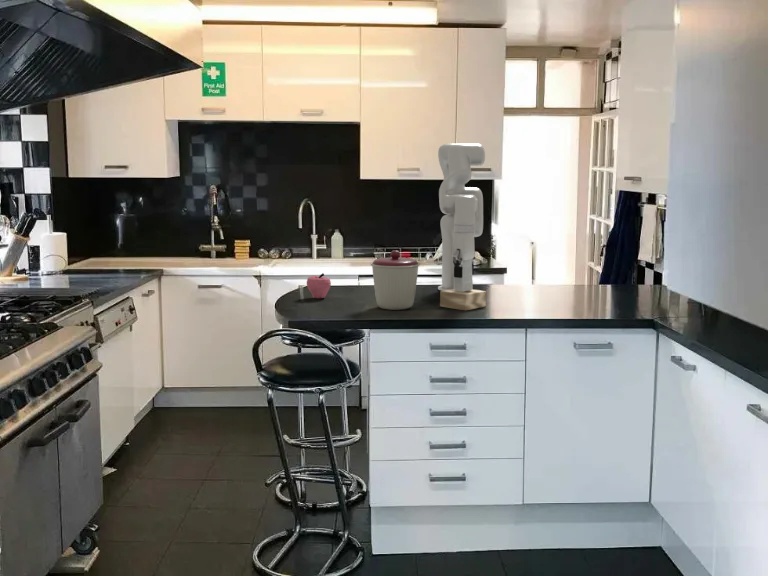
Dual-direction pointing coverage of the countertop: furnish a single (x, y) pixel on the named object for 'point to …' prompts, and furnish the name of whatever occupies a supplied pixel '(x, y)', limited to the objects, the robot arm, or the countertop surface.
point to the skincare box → (464, 278)
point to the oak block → (463, 299)
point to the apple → (318, 285)
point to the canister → (395, 281)
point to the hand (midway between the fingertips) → (463, 275)
